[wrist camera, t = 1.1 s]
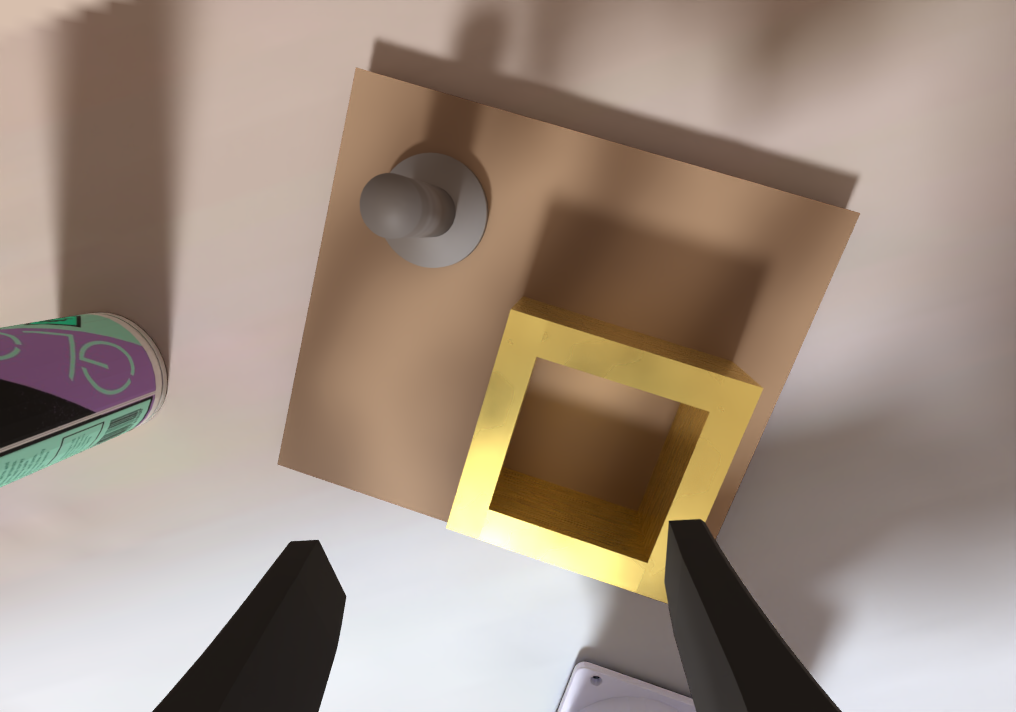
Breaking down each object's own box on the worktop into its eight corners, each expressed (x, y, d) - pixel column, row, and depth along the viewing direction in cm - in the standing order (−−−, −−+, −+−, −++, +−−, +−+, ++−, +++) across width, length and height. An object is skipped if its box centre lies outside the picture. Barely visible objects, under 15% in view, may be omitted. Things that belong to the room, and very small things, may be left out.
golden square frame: (732, 361, 20) (763, 388, 16) (656, 546, 22) (669, 604, 18) (523, 296, 20) (510, 308, 17) (466, 482, 22) (446, 527, 19)
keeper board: (843, 214, 19) (954, 207, 14) (681, 585, 23) (714, 702, 18) (368, 76, 20) (283, 15, 15) (292, 453, 24) (201, 521, 19)
